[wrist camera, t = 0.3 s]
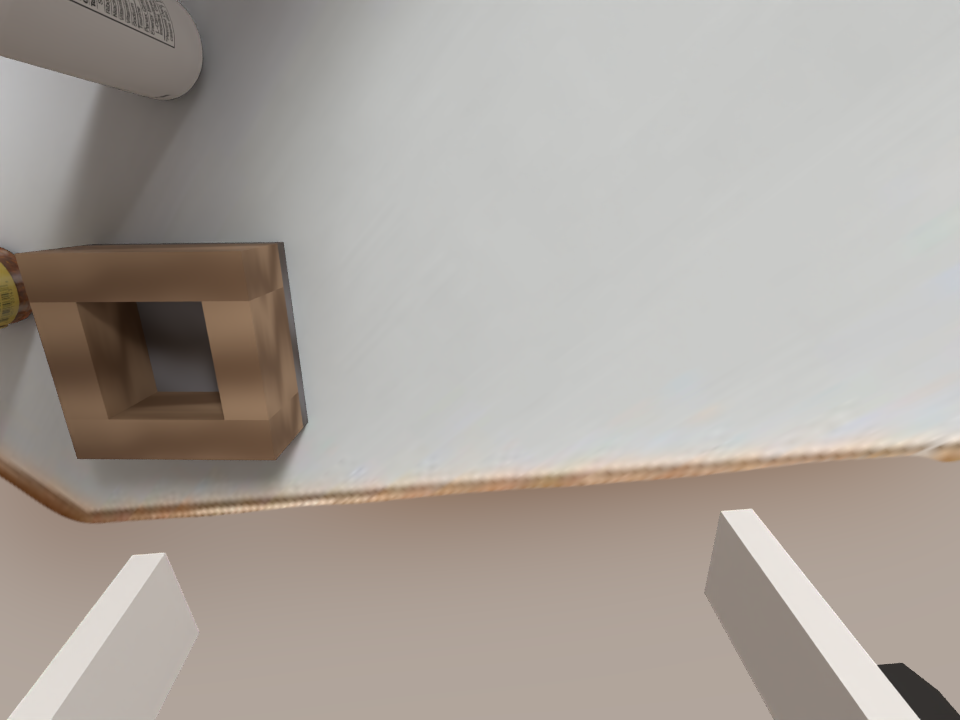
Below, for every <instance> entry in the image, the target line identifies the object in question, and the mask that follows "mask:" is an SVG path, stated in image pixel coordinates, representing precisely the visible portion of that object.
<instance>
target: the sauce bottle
mask: <svg viewBox="0 0 960 720" xmlns="http://www.w3.org/2000/svg"><path fill="white" fill-rule="evenodd" d="M31 313H32V309H31V306H30V303H29V299H28V296H27V293H26V290H25V286H24V283H23V280H22V276H21V273H20V270H19V267H18V263H17V260H16V257H15V255H14V254H13V253H11V252H10V251H8V250H5V249H4V248H1V247H0V329H1V328H4V327H7V326H8V324H12V323H15V322H18V321H21V320H23V319H25V318H27V317H28V316H29V315H30V314H31Z"/></svg>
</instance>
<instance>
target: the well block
mask: <svg viewBox="0 0 960 720" xmlns="http://www.w3.org/2000/svg"><path fill="white" fill-rule="evenodd" d="M15 257H16V260H17V263H18V267H19V270H20V273H21V276H22V280H23V283H24V286H25V290H26V293H27V296H28V299H29V303H30V306H31V309H32V312H33V316H34V319H35V322H36V325H37V329H38V332H39V335H40V338H41V342H42V345H43V348H44V351H45V355H46V358H47V361H48V364H49V368H50V371H51V374H52V377H53V381H54V384H55V387H56V391H57V394H58V397H59V400H60V404H61V407H62V410H63V413H64V417H65V420H66V423H67V426H68V430H69V433H70V436H71V439H72V443H73V446H74V449H75V452H76V456H77V459H178V460H276V459H277V458H278V457H279V455H280V454H281V453H282V452H283V451H284V450H285V448H286V447H287V446H288V445H289V444H290V443H291V441H292V440H293V439H294V438H295V437H296V436H297V434H298V433H299V432H300V431H301V430H302V429H303V427H304V426H305V425H306V424H307V423H308V418H307V411H306V403H305V396H304V389H303V381H302V374H301V367H300V360H299V352H298V345H297V338H296V330H295V323H294V316H293V308H292V301H291V294H290V287H289V279H288V272H287V265H286V257H285V250H284V243H283V242H258V243H173V244H92V245H84V246H75V247H67V248H58V249H49V250H41V251H32V252H24V253H15Z"/></svg>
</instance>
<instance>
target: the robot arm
mask: <svg viewBox="0 0 960 720" xmlns="http://www.w3.org/2000/svg"><path fill="white" fill-rule="evenodd" d="M705 595H706V597H707V598H708V600H709V602H710V604H711V606H712V608H713V609H714V611H715V613H716V615H717V616H718V619H719V620H720V622H721V624H722V626H723V628H724V629H725V631H726V633H727V635H728V637H729V638H730V640H731V642H732V644H733V646H734V648H735V650H736V651H737V653H738V655H739V657H740V658H741V661H742V662H743V664H744V666H745V668H746V670H747V671H748V673H749V675H750V677H751V679H752V681H753V682H754V684H755V686H756V688H757V690H758V692H759V693H760V695H761V697H762V699H763V700H764V703H765V704H766V706H767V708H768V710H769V711H770V713H771V715H772V717H773V719H774V720H960V715H959V714H958V713H957V712H956V710H955V709H954V708H953V707H952V706H951V705H950V704H949V702H948V701H947V700H946V699H945V698H944V697H943V696H942V694H941V693H940V692H939V691H938V690H937V689H935V688H934V687H933V686H932V685H930V684H929V683H928V682H926V681H925V680H924V679H923V678H921V677H920V676H919V675H917V674H916V673H915V672H914V671H912V670H911V669H909V668H908V667H907V666H906V665H904V664H903V663H896V664H884V665H876V664H875V662H874V661H873V660H872V659H871V657H870V656H869V655H868V654H867V652H866V651H865V650H864V649H863V647H862V646H861V645H860V644H859V642H858V641H857V640H856V639H855V637H854V636H853V635H852V634H851V632H850V631H849V630H848V629H847V627H846V626H845V625H844V624H843V622H842V621H841V620H840V619H839V617H838V616H837V615H836V614H835V612H834V611H833V610H832V608H831V607H830V606H829V605H828V603H827V602H826V601H825V600H824V599H823V597H822V596H821V595H820V593H819V592H818V591H817V590H816V588H815V587H814V586H813V585H812V583H811V582H810V581H809V580H808V578H807V577H806V576H805V575H804V573H803V572H802V571H801V570H800V568H799V567H798V566H797V565H796V563H795V562H794V561H793V560H792V559H791V557H790V556H789V555H788V553H787V552H786V551H785V550H784V548H783V547H782V546H781V545H780V543H779V542H778V541H777V540H776V538H775V537H774V536H773V535H772V533H771V532H770V531H769V529H768V528H767V527H766V526H765V524H764V523H763V522H762V521H761V519H760V518H759V517H758V516H757V515H756V513H755V512H754V511H753V509H743V510H729V511H721V512H720V517H719V522H718V527H717V532H716V537H715V542H714V547H713V552H712V557H711V562H710V567H709V572H708V577H707V583H706V587H705ZM198 635H199V629H198V627H197V625H196V622H195V620H194V618H193V615H192V613H191V611H190V608H189V606H188V604H187V601H186V599H185V596H184V594H183V592H182V590H181V587H180V585H179V583H178V580H177V578H176V576H175V573H174V571H173V568H172V566H171V564H170V561H169V559H168V557H167V554H166V553H154V554H141V555H132V556H131V558H130V559H129V560H128V561H127V563H126V564H125V565H124V567H123V568H122V569H121V571H120V572H119V573H118V575H117V576H116V577H115V579H114V580H113V581H112V583H111V584H110V585H109V586H108V588H107V589H106V590H105V592H104V593H103V594H102V596H101V597H100V598H99V600H98V601H97V602H96V604H95V605H94V606H93V607H92V609H91V610H90V611H89V613H88V614H87V615H86V617H85V618H84V619H83V621H82V622H81V623H80V625H79V626H78V627H77V628H76V630H75V631H74V632H73V634H72V635H71V636H70V638H69V639H68V640H67V642H66V643H65V644H64V646H63V647H62V648H61V649H60V651H59V652H58V654H57V655H56V656H55V657H54V659H53V660H52V661H51V663H50V664H49V665H48V667H47V668H46V669H45V671H44V672H43V673H42V675H41V676H40V677H39V678H38V680H37V681H36V682H35V684H34V685H33V686H32V688H31V689H30V690H29V692H28V693H27V694H26V696H25V697H24V698H23V700H22V701H21V702H20V704H19V705H18V706H17V707H16V709H15V710H14V711H13V713H12V714H11V715H10V716H9V718H8V719H7V720H155V719H156V718H157V716H158V713H159V712H160V710H161V708H162V706H163V704H164V702H165V700H166V698H167V696H168V694H169V692H170V690H171V688H172V686H173V684H174V682H175V680H176V678H177V676H178V674H179V672H180V670H181V668H182V666H183V664H184V662H185V661H186V659H187V657H188V655H189V653H190V651H191V648H192V646H193V645H194V643H195V641H196V639H197V637H198Z"/></svg>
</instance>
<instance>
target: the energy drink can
mask: <svg viewBox="0 0 960 720" xmlns="http://www.w3.org/2000/svg"><path fill="white" fill-rule="evenodd" d="M0 56H3V57H6V58H10V59H13V60H17V61H21V62H24V63H28V64H31V65H35V66H38V67H42V68H45V69H49V70H53V71H56V72H60V73H63V74H67V75H70V76H74V77H77V78H81V79H85V80H88V81H92V82H95V83H99V84H102V85H106V86H109V87H113V88H117V89H120V90H124V91H127V92H131V93H134V94H138V95H141V96H145V97H149V98H152V99H158V100H171V99H174V98H177V97H180V96H182V95H183V94H185V93H187V92H188V91H189V90H190V89H191V88H192V87H193V85H194V84H195V82H196V80H197V79H198V77H199V74H200V72H201V69H202V63H203V52H202V44H201V38H200V35H199V32H198V30H197V27H196V25H195V23H194V21H193V19H192V18H191V16H190V15H189V13H188V12H187V11H186V10H185V8H184V7H183V6H182V5H181V4H180V3H179V2H178V1H176V0H0Z"/></svg>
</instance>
